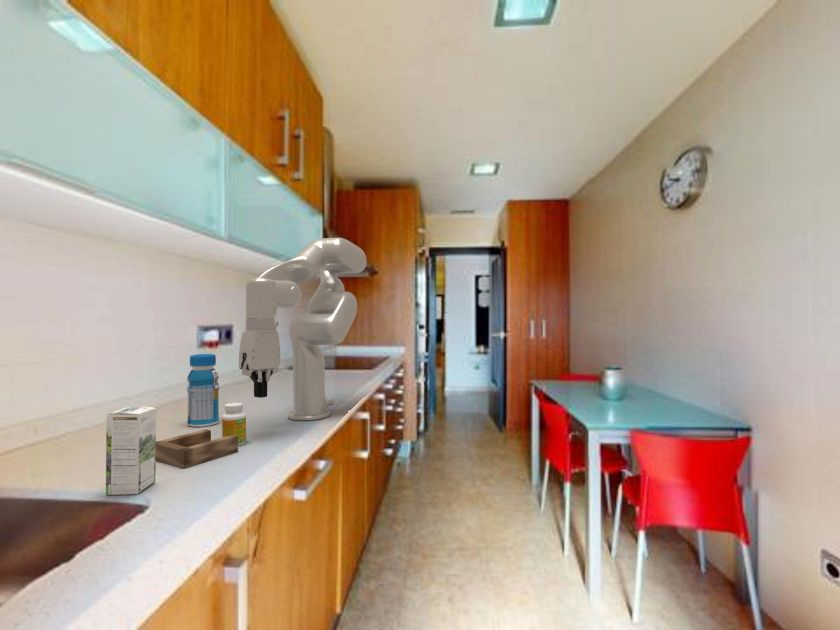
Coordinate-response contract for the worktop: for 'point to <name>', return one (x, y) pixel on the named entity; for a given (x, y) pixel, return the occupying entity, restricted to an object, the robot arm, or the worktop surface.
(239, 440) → the supplement bottle
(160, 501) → the worktop surface
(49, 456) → the worktop surface
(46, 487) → the worktop surface
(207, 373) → the beverage bottle
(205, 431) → the tray
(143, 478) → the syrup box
